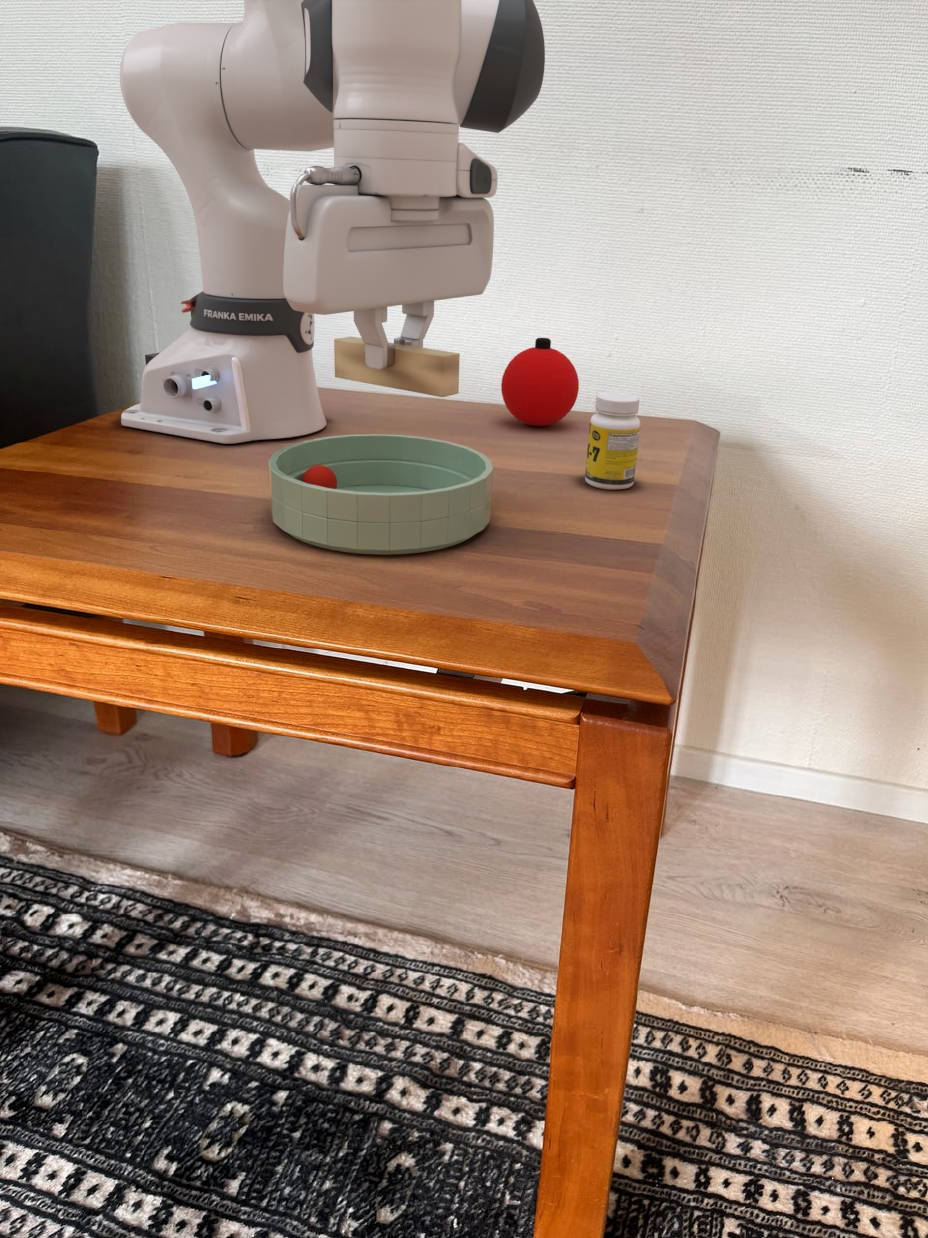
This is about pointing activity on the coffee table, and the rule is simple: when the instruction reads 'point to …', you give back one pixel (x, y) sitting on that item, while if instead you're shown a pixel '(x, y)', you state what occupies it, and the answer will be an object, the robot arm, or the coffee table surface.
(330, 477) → the ball
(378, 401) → the coffee table surface
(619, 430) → the supplement bottle
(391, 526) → the bowl
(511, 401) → the ornament
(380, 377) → the block
